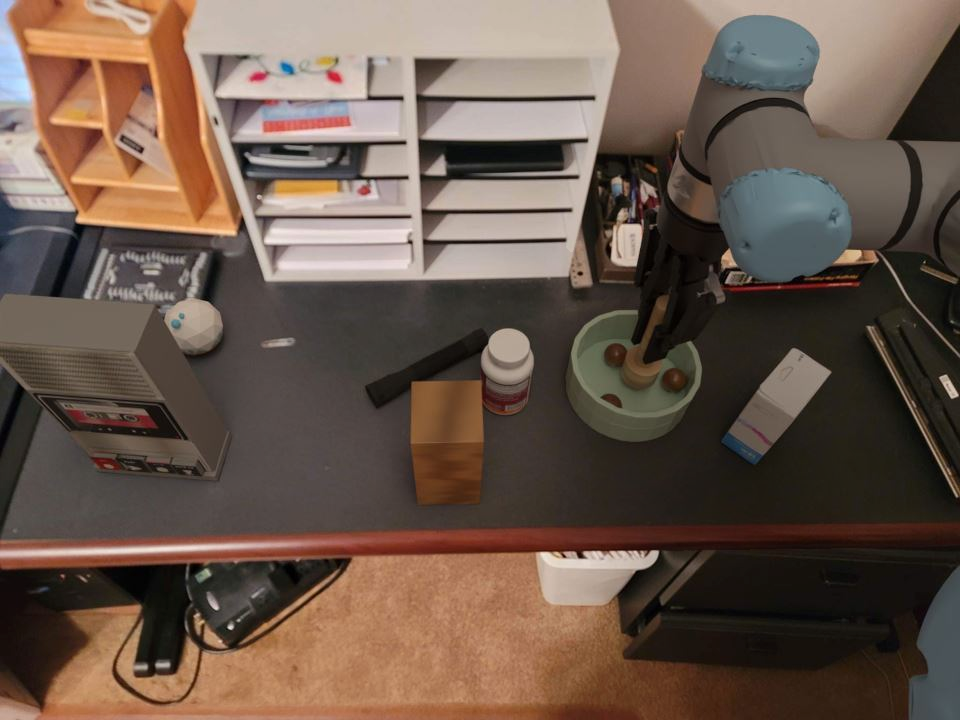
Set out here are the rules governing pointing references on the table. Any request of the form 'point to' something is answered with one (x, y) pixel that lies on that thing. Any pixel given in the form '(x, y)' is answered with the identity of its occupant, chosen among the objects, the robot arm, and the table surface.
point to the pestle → (633, 364)
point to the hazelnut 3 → (674, 380)
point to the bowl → (641, 408)
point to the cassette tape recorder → (114, 384)
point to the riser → (447, 441)
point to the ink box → (775, 405)
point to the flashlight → (425, 367)
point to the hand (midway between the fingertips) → (648, 349)
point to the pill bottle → (506, 372)
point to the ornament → (194, 326)
